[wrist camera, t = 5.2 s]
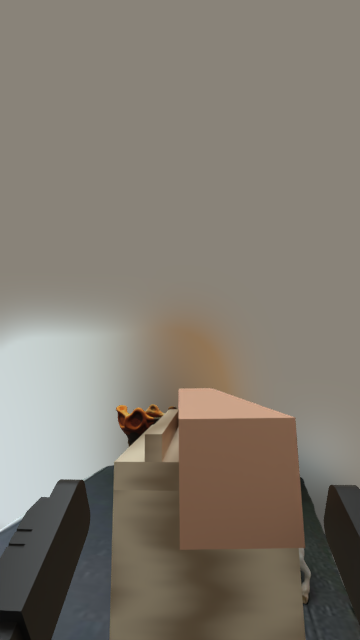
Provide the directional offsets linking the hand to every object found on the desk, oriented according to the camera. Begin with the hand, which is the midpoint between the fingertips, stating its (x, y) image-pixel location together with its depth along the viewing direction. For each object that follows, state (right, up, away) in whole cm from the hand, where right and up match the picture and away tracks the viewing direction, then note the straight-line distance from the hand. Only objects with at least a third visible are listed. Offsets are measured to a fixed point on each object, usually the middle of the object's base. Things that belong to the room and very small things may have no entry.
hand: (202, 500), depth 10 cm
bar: (+1, -3, +10) cm, 11 cm away
